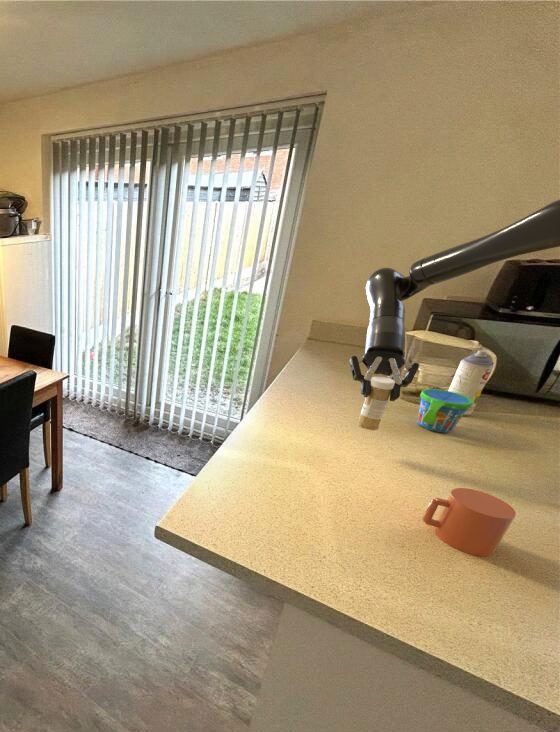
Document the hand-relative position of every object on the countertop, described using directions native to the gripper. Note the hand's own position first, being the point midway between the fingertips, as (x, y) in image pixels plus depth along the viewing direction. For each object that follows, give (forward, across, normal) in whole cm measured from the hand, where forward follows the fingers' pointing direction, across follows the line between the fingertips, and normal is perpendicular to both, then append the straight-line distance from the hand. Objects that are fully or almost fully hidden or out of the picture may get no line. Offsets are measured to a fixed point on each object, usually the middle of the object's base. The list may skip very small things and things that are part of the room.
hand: (379, 397), depth 96 cm
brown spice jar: (+5, 0, +8) cm, 9 cm away
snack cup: (-7, +21, +31) cm, 38 cm away
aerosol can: (-18, +30, +42) cm, 55 cm away
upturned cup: (+30, +12, -7) cm, 33 cm away
